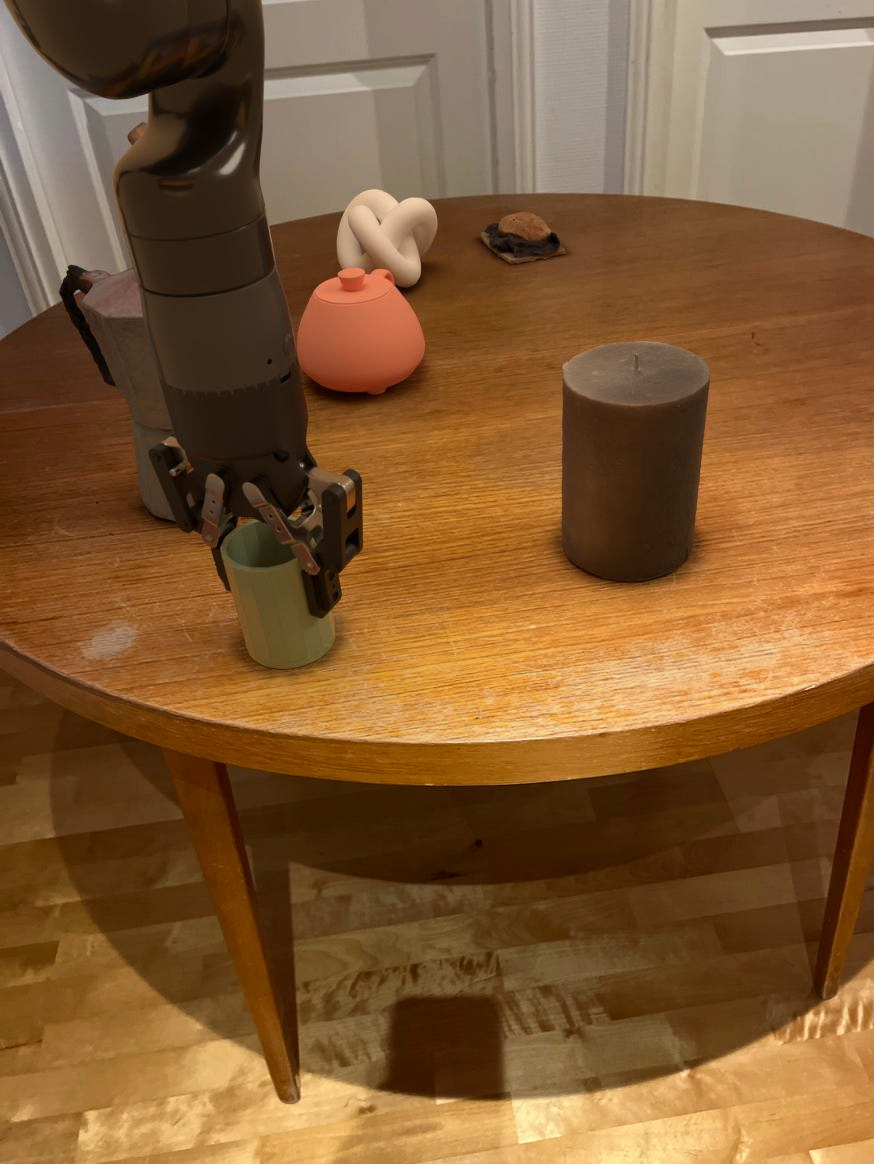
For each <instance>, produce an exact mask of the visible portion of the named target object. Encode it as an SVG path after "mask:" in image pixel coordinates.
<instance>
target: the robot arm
mask: <svg viewBox="0 0 874 1164" xmlns="http://www.w3.org/2000/svg"><path fill="white" fill-rule="evenodd" d="M2 1H3V3H4V5H5V6H6V8H7V11H8V12H9V14H10V16H11V18H12V19H13V21H14V23H15V25H16V26H17V28H18V29H19V31H20V33H21V34H22V36H23V37H24V38H25V39H26V41H27V42H28V44H29V45H30V47H31V48H32V49H33V50H34V51H35V53H36V54H37V55H38V56H39V57H40V58H41V59H42V60H43V61H44V62H45V63H46V64H47V65H48V66H49V67H50V68H52V69H53V70H54V71H55V72H56V73H57V74H59V76H61V77H63V78H64V79H65V80H66V81H68V82H69V83H70V84H73V85H74V86H75V87H78V88H80V89H81V90H83V91H84V92H86V93H89V94H90V95H94V96H95V97H97V98H98V97H99V98H102V99H106V100H111V101H122V100H131V99H135V98H139V97H142V96H145V95H147V103H148V104H147V108H148V109H147V121H146V124H147V125H146V128H145V130H144V133H143V134H142V135H141V137H140V138H139V139H138V140H137V141H136V142H135V143H134V144H133V145H131V146H130V148H128V149H127V150H126V151H125V152H124V153H123V154H122V155H121V157H120V158H118V160H117V162H116V163H115V165H114V167H113V170H112V174H111V188H112V196H113V199H114V204H115V208H116V212H117V215H118V219H119V222H120V223H119V224H120V226H121V229H122V233H123V237H124V239H125V244H126V247H127V251H128V254H129V258H130V261H131V265H132V269H134V273H135V276H136V280H137V284H138V289H139V293H140V299H141V306H142V314H143V320H144V326H145V330H146V335H147V338H148V342H149V345H150V349H151V352H152V356H153V359H154V363H155V366H156V370H157V374H158V377H159V381H160V384H161V388H162V391H163V395H164V398H165V402H166V405H167V409H168V412H169V416H170V420H171V423H172V427H173V430H174V433H172V434H171V435H169V436H168V437H167V438H165V439H164V440H162V441H161V442H160V443H158V444H157V445H155V446H154V447H153V448H151V449H150V450H149V452H148V455H149V458H150V460H151V463H152V465H153V467H154V470H155V472H156V475H157V477H158V479H159V482H160V484H161V487H162V489H163V491H164V494H165V496H166V499H167V501H168V504H169V506H170V508H171V511H172V513H173V516H174V518H175V520H176V522H175V523H176V525H177V527H178V528H179V529H180V531H182V532H183V533H186V534H190V533H192V532H193V531H194V532H196V533H197V534H198V535H200V537H201V540H202V541H203V543H204V544H205V546H207V547H209V548H210V551H211V555H212V558H213V561H214V565H215V568H216V573H217V576H218V577H219V579H220V581H221V582H222V583H223V587H224V590H225V591H226V592H230V593H232V592H231V588H230V585H229V581H228V577H227V574H226V570H225V566H224V563H223V559H222V555H221V551H220V547H221V545H222V543H223V540H224V538H225V537H226V536H227V535H228V534H229V533H230V532H231V531H232V530H234V529H235V528H236V527H238V526H240V525H241V522H242V518H243V519H245V518H252V519H256V520H258V521H260V522H262V523H265V524H268V526H269V527H270V529H271V530H272V532H273V534H274V535H275V537H276V538H277V540H278V541H279V543H280V544H281V545H283V546H289V547H290V548H291V550H292V551H293V553H294V555H295V556H296V558H297V559H298V561H299V563H300V564H301V566H302V567H303V569H304V570H303V571H302V572H301V574H302V578H303V583H304V588H305V592H306V597H307V602H308V607H309V611H310V615H311V616H314V617H317V618H321V619H322V618H324V617H325V616H326V615H327V614H328V613H329V612H330V611H331V610H332V611H333V609H334V608H335V607H336V606H337V605H338V603H339V602H340V601H341V600H342V597H343V592H342V591H343V590H342V586H341V582H340V581H341V580H340V575H339V574H341V573H342V572H343V571H344V570H345V569H346V568H347V566H348V564H350V562H351V561H353V559H354V558H355V557H356V556H358V555H359V554H360V553H361V552H362V551H363V549H364V515H363V513H364V512H363V510H364V509H363V508H364V507H363V504H364V503H363V478H362V475H361V474H360V473H359V472H358V471H357V470H355V469H352V468H348V469H346V470H345V471H343V472H342V473H341V474H336V473H334V472H331V471H328V470H326V469H323V468H320V467H318V463H317V460H316V459H315V458H314V456H313V454H312V453H311V451H310V449H309V446H308V444H307V443H308V442H307V435H308V434H307V433H308V427H309V426H308V425H309V411H308V406H307V400H306V395H305V390H304V384H303V378H302V374H301V366H300V365H299V361H298V355H297V343H296V338H295V333H294V328H293V322H292V317H291V312H290V308H289V303H288V300H287V295H286V293H285V290H284V287H283V284H282V280H281V277H280V274H279V270H278V267H277V262H276V256H275V250H274V245H273V239H272V234H271V227H270V223H269V219H268V212H267V208H266V203H265V198H264V194H263V191H262V185H261V176H260V175H261V174H260V170H261V169H260V168H261V155H262V146H263V145H262V144H263V134H264V108H265V107H264V106H265V105H264V103H265V101H264V100H265V69H266V31H265V30H266V29H265V18H264V7H263V6H264V5H263V2H262V0H2ZM188 493H191V496H192V498H193V501H194V503H195V504H194V505H192V506H191V507H190V506H189V504H188V501H187V495H188ZM299 508H300V515H299V516H297V519H296V520H295V521H294V522H293V523H292V524H291V523H290V522H289V520H288V517H289V516H292V515H293V514H294V513H295V512H296V511H297V510H298V509H299ZM308 533H310V534H311V536H312V537H313V539H314V541H315V542H316V544H317V545H316V546H315V547H314V548H312V546H311V544H310V543H309V541H308V539H307V534H308Z"/></svg>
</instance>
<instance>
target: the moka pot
mask: <svg viewBox="0 0 874 1164" xmlns="http://www.w3.org/2000/svg"><path fill="white" fill-rule="evenodd" d="M77 291H80V292H82V293H83V294H84V295H85V296H84V297H83V299H81V307H82V309H83V310H81V308H80V307H79V306H78V302H77V300H76V298H75V293H76V292H77ZM58 292H59V297H60V298H61V300H62V302H63V307H64V308H65V311H66V312H67V314H68V316H69V318H70V321H71V323H72V324H73V325H74V327H75V329H76V330H78V331H77V332H78V334H79V335H80V337H81V340H82V341H83V342H84V344H85V346H86V348H87V349H88V351H89V352H90V354H91V356H92V359H93V362H94V363H95V364H96V365H97V368H98V371H99V373H100V374H101V377H102V380H103V382H104V383H106V384H107V385H108V386H111V387H115V388H116V390H117V392H118V394H119V395H121V396H122V397H123V398H124V399H125V400H126V403H127V407H128V410H129V413H130V415H131V417H132V418H131V421H130V422H131V430H132V431H131V432H132V439H133V444H134V445H133V446H134V453H135V460H136V470H137V477H138V478H137V479H138V489H139V494H140V499H141V500H142V502H143V504H144V507H146V509H147V510H148V512H150V514H152V515H154V516H156V517H158V518H160V519H164V520H167V521H173V522H175V523H176V520H175V518H174V516H173V513H172V511H171V508H170V506H169V504H168V501H167V499H166V496H165V494H164V491H163V489H162V487H161V484H160V482H159V479H158V477H157V475H156V472H155V470H154V467H153V465H152V463H151V460H150V458H149V455H148V452H149V450H150V449H151V448H153V447H154V446H155V445H157V444H158V443H160V442H161V441H162V440H164V439H165V438H167V437H168V436H169V435H171V434H172V433H174V430H173V427H172V423H171V420H170V416H169V412H168V409H167V405H166V402H165V398H164V395H163V391H162V388H161V384H160V381H159V377H158V374H157V370H156V366H155V363H154V359H153V356H152V352H151V349H150V345H149V342H148V338H147V335H146V330H145V326H144V320H143V314H142V306H141V299H140V293H139V289H138V284H137V280H136V276H135V273H134V269H133V268H131V269H126V270H124V271H121V272H117V273H113V274H111V273H109V272H108V271H107V270H106V271H105V270H101V269H99V270H98V269H94V270H87V269H85V268H83V267H81V266H79V265H76V264H69V265H67V269H66V272H65V276H64V278H63V279H62V283H61V284H60V287H59V290H58ZM83 312H84V313H83ZM86 319H87V320H86ZM187 501H188V504H189V506H190V507H191V506H192V505H194V504H195V503H194V501H193V498H192V496H191V493H188V495H187Z"/></svg>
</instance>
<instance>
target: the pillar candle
mask: <svg viewBox="0 0 874 1164" xmlns="http://www.w3.org/2000/svg"><path fill="white" fill-rule="evenodd" d="M561 369H562V371H563V372H562V373H561V374H562V416H561V424H562V425H561V431H562V433H561V435H562V437H561V440H562V441H561V442H562V445H561V523H560V524H561V525H560V527H561V529H560V530H561V543H562V548H563V551H564V553H565V555H566V556H567V557H568V559H569V560H570V561H571V562H572V563H573V564H574V565H576V566H577V567H579V568H580V569H583V570H585V571H587V572H589V573H591V574H593V575H595V576H597V577H600V578H602V579H607V580H613V581H617V582H622V581H623V582H639V581H646V580H647V581H648V580H653V579H655V578H659V577H662V576H666V575H669V574H671V573H674V572H675V571H677V570H678V569H679V568H680V567H681V566H682V565H684V563H685V562H687V560H688V559H689V558H690V555H691V554H692V551H693V546H694V538H695V537H694V535H695V526H696V519H697V518H696V517H697V508H698V499H699V490H700V489H699V488H700V482H701V481H700V480H701V469H702V459H703V447H704V439H705V431H706V430H705V429H706V422H707V412H708V411H707V410H708V402H709V392H710V383H711V370H710V368H709V366H708V364H707V363H706V361H705V360H704V359H703V358H702V357H700V356H698V355H697V354H696V353H693V352H691V351H689V350H688V349H685V348H683V347H680V346H676V345H673V344H667V343H664V342H663V341H648V340H636V341H635V340H633V341H626V342H612V343H608V344H601V345H598V346H595V347H592V348H590V349H587V350H584V351H582V352H579V353H578V354H576V355H574V356H573V357H572V358H571V359H569V360H568V361H566V362H564V363H563V364H562V366H561Z"/></svg>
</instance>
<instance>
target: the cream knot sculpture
mask: <svg viewBox="0 0 874 1164" xmlns="http://www.w3.org/2000/svg"><path fill="white" fill-rule="evenodd" d="M437 230H438V217H437V212H436V209H435V208H434V206H433V205H432V204H431V203H430V202H429V201H428V200H426V199H425V198H422V197H413V196H412V197H407V198H405V199H403V200H402V201H400V202H399V201H397V200H396V198H395V197H393V196H392V195H391V194H389V193H388V192H386V191H384V190H381V189H376V188H372V189H367V190H364V191H362V192H360V193H358V194H357V195H356V196H355V197H353V199H351V201H350V202H349V203H348V205H347V207H345V210H344V212H343V214H342V216H341V219H340V222H339V224H338V229H337V234H336V235H337V236H336V256H337V261H338V263H339V266H340V269H341V270H344V269H347V268H360V269H363V270H364V271H365V274H371V273H372V272H373V271H374V270H376V269H385V270H388V271H389V272H391V274H392V275H393V278H394V285H395V286H396V287H399V288H404V289H405V288H412V286H415V285H416V284H417V283H418V281H419V280H420V278H421V274H422V263H421V259H422V258H423V257H424V256H425V255H426V253H427V252H428V251H429V249H430V248H431V246H432V245H433V242H434V239H435V237H436V234H437ZM363 251H364V252H363Z"/></svg>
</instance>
